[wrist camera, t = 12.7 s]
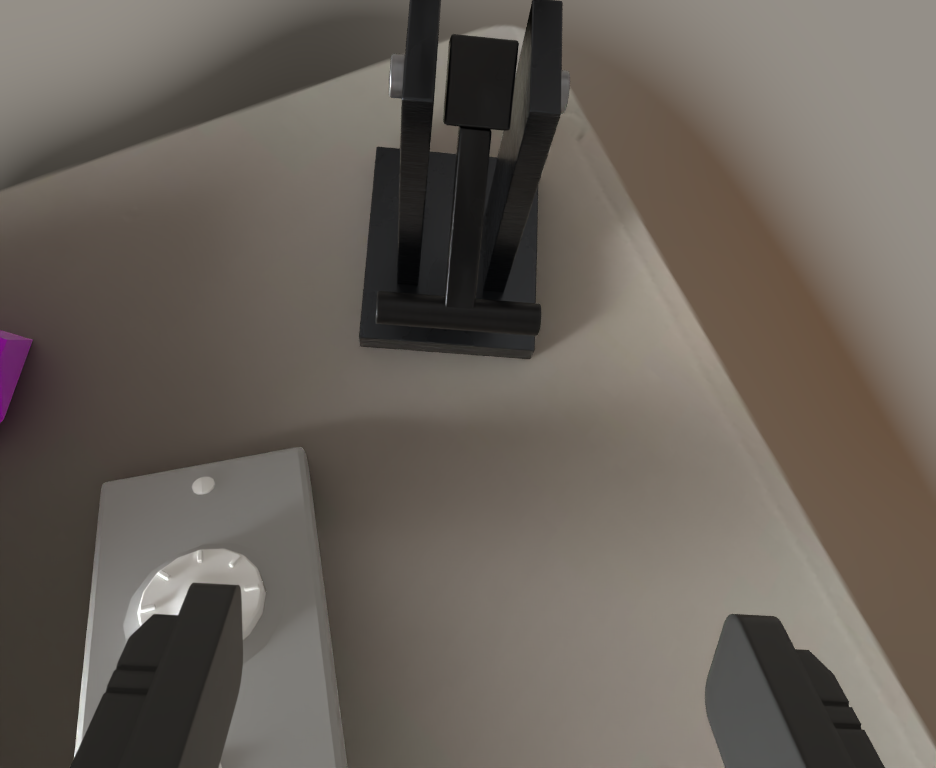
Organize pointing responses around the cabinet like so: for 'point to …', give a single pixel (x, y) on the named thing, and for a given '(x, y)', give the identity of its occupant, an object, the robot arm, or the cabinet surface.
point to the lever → (469, 196)
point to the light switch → (235, 563)
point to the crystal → (11, 366)
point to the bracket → (432, 182)
